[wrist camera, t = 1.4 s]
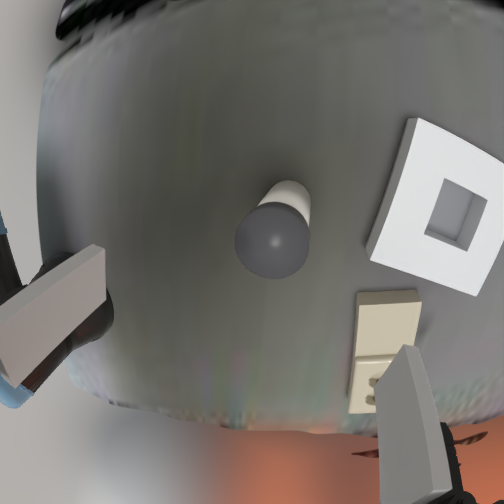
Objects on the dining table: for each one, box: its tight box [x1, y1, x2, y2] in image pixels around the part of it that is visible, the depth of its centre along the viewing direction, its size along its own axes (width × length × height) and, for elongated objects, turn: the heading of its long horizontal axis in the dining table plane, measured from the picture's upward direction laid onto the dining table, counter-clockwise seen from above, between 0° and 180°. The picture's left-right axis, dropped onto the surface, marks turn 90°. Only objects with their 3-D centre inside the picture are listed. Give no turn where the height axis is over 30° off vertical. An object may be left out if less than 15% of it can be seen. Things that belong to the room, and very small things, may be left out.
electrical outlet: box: [348, 289, 422, 414], centre depth 33 cm, size 7×4×18 cm
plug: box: [235, 180, 311, 279], centre depth 25 cm, size 5×5×12 cm
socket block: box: [365, 118, 504, 296], centre depth 25 cm, size 14×14×4 cm
